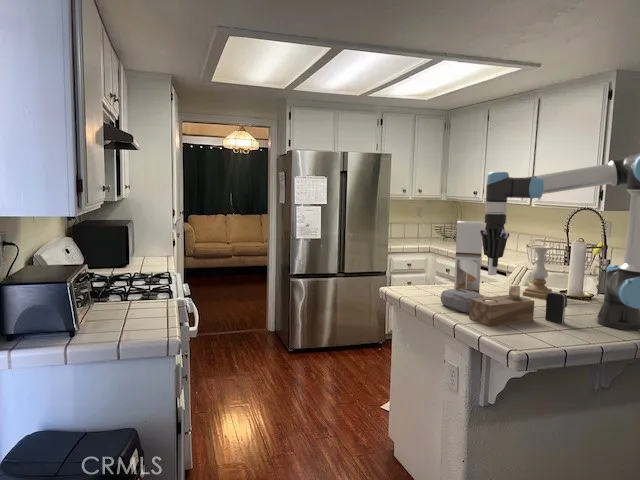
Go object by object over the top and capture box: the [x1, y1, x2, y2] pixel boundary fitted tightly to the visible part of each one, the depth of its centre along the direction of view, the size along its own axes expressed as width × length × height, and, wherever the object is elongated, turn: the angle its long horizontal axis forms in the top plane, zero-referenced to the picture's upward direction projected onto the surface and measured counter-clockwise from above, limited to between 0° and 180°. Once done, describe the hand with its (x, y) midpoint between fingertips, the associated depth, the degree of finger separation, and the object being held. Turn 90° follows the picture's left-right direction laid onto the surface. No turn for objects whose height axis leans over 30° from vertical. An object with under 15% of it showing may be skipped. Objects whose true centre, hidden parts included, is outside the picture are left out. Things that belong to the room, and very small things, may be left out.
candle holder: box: [522, 244, 554, 300], centre depth 230 cm, size 11×11×24 cm
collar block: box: [468, 294, 535, 327], centre depth 188 cm, size 11×22×8 cm, turn 113°
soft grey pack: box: [440, 288, 485, 314], centre depth 205 cm, size 15×8×20 cm
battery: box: [544, 291, 568, 324], centre depth 188 cm, size 7×4×11 cm, turn 37°
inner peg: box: [508, 284, 521, 300], centre depth 190 cm, size 4×4×6 cm
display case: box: [453, 220, 484, 294], centre depth 227 cm, size 11×11×35 cm
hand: (492, 274), depth 184 cm, fingers closed
